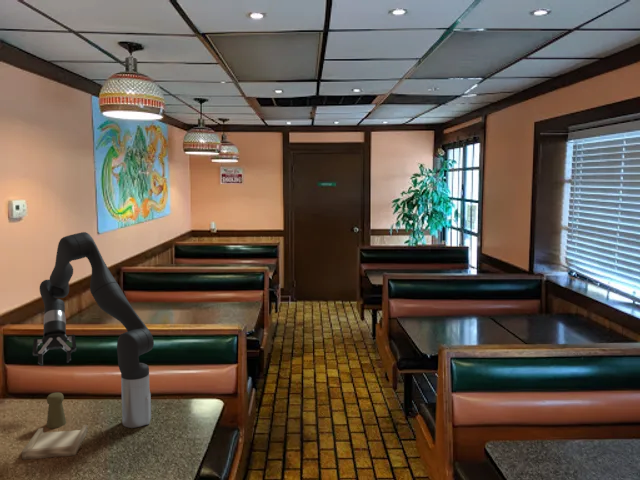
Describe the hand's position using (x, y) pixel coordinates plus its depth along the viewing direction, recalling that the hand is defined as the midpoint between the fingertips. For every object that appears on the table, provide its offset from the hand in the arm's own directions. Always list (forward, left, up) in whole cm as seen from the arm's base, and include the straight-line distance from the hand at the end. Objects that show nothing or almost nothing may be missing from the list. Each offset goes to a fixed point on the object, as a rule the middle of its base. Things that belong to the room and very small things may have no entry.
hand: (54, 363), depth 181 cm
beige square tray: (-8, +26, -18) cm, 33 cm away
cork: (-3, +11, -18) cm, 22 cm away
